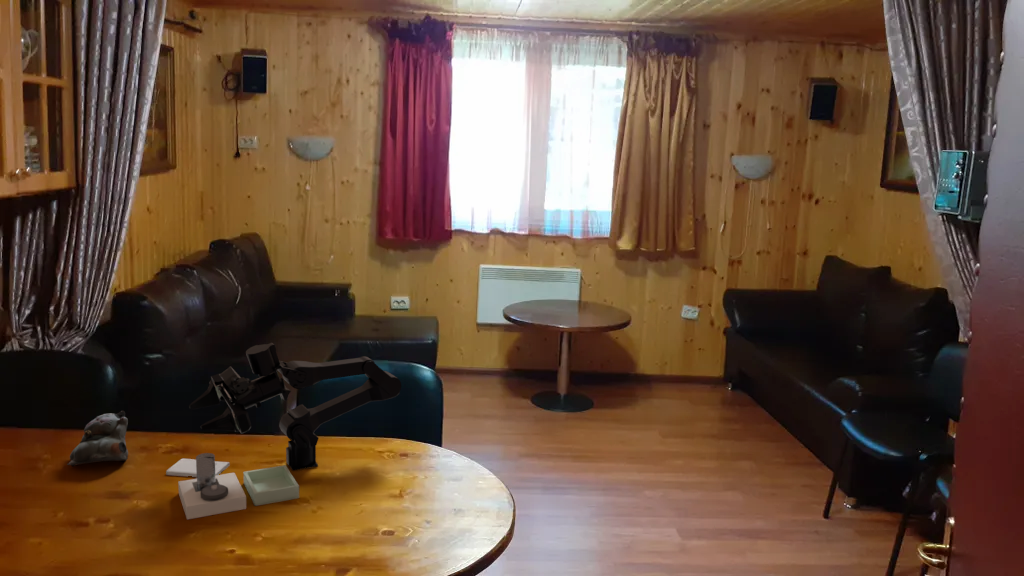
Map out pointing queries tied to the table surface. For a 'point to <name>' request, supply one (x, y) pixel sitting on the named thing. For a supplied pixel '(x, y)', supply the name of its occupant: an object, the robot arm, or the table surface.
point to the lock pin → (205, 470)
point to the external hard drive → (192, 468)
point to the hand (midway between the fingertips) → (195, 417)
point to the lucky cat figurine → (102, 440)
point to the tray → (271, 485)
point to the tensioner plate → (212, 496)
